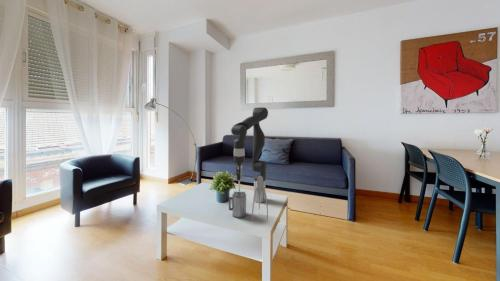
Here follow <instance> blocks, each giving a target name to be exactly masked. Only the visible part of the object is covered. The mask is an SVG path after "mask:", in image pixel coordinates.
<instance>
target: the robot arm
mask: <svg viewBox="0 0 500 281" xmlns="http://www.w3.org/2000/svg"><path fill="white" fill-rule="evenodd" d="M268 115H269V111H268V108H266V107H254V108H253V109H252V116H249V117H247V118H245V119H244V120H242V121H240V122H238V123H236V124H234V125H233V126H232V127H231V128H230V129H231V130H230V131H231V134H232V135H233V136H235V137H237V136H238V138H237V139H234V140H233V162H234V163H236V165H235V172H236V181H238V182H239V181H240V182H241V178H240V175H241V173H242V172H243V171H242V170H243V163H245V161H246V160H245V158H246V157H245V156H246V153H245V141H246V136H247V133H248V130H250V129H251V128H252V127H253V136H252V138H253V139H252V147H253V148H252V160H251V168H252V169H251V170H252V172H255V173H260V174H258V175H254V176H253V194H254V193H255V189H256V188H257V178H258V176H262V177H263V188H265V189H266V178H267V177H266V176H267V162H266V161H265V160H259V156H260V153H261V152H262V150H263V148H264V147H265V143H266V137H265V136H266V135H265V133H264V131H263V129H262V127H261V125H260V122H262V121H263V120H266V119H267V118H268V117H269V116H268ZM263 188H262V189H263ZM257 189H258V188H257ZM254 203H258V204H259V192H258V191H257V192H256V196H255V201H254ZM261 203H262V204H263V203H266V198H265V194H264V191H262V192H261V195H260V204H261Z"/></svg>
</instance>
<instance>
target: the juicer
mask: <svg viewBox="0 0 500 281" xmlns="http://www.w3.org/2000/svg"><path fill="white" fill-rule="evenodd" d="M257 188H258V189H257ZM257 188H256V189H255V193H254V192H253V198H252V200H253V201H252V210H251V214H252V215H251V216H252V217H251V219H252V220H251V221H252V222H253V221H254V208H255V196H256V192H257V191H258V192H259V203H258V209H260V207H261V206H260V205H261V203H260V195H261V192H262V191H264V194H265V204H266V205H265V206H266V220H267V221H269V206H268V197H267V193H266V187H265V188H263V177H262V176H258V178H257ZM262 188H263V189H262Z"/></svg>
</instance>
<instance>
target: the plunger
mask: <svg viewBox="0 0 500 281" xmlns="http://www.w3.org/2000/svg"><path fill="white" fill-rule="evenodd" d="M242 178H243V176H242V172H241V175H240V179H242ZM238 192H239V194H240V192H241V180H240V181H238Z"/></svg>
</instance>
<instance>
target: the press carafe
mask: <svg viewBox="0 0 500 281" xmlns="http://www.w3.org/2000/svg"><path fill="white" fill-rule="evenodd" d="M228 210H229V211H231V212H232V217H233V218H236V219H243V218H245V217H246V216H247V194H246V191H240V194H239V191H233V193H232V195H231V196H229V197H228Z"/></svg>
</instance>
